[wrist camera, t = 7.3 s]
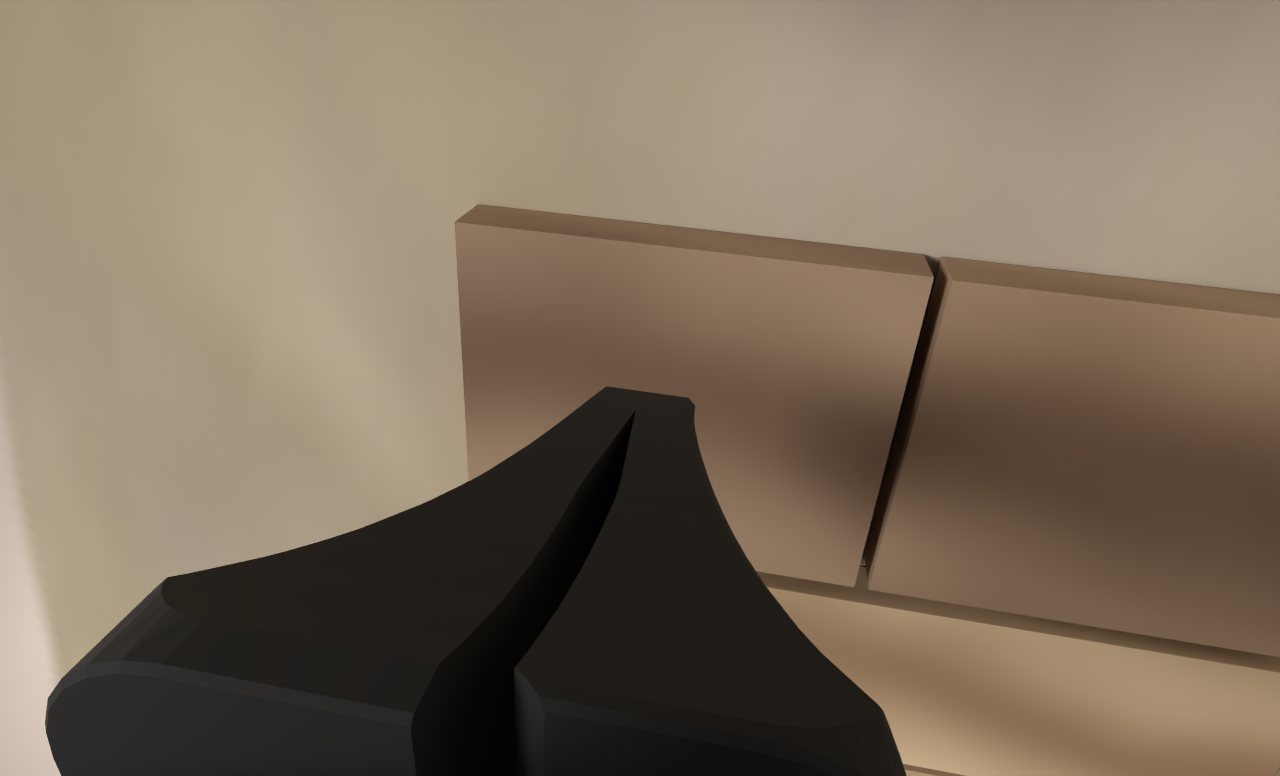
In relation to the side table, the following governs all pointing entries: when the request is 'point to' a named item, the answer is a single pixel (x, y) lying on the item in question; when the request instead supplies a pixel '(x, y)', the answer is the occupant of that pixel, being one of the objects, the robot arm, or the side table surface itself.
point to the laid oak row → (1040, 689)
